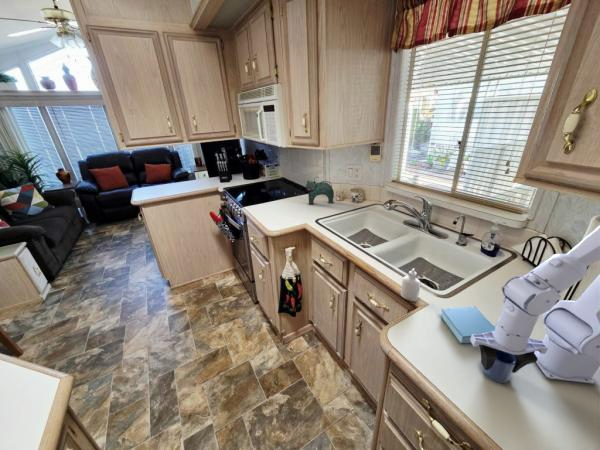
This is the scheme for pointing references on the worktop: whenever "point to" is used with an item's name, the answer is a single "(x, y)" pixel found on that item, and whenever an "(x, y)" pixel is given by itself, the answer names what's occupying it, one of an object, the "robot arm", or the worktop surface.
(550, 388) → the worktop surface
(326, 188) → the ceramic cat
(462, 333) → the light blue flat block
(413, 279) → the eye dropper bottle
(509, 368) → the cup
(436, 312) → the worktop surface
